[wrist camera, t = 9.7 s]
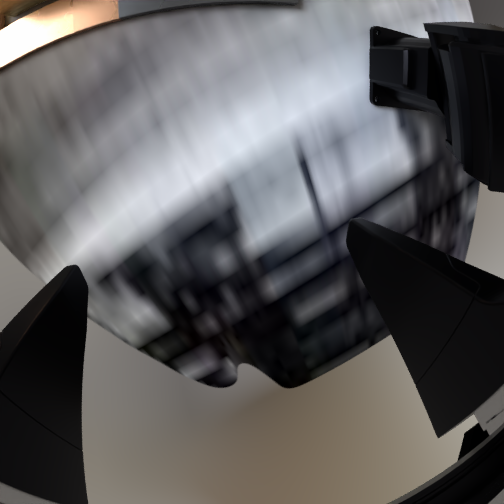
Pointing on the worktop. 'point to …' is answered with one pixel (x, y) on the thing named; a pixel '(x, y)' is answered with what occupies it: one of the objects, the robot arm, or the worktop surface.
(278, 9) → the worktop surface
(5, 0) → the wooden block
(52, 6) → the frame with rectangular openings
